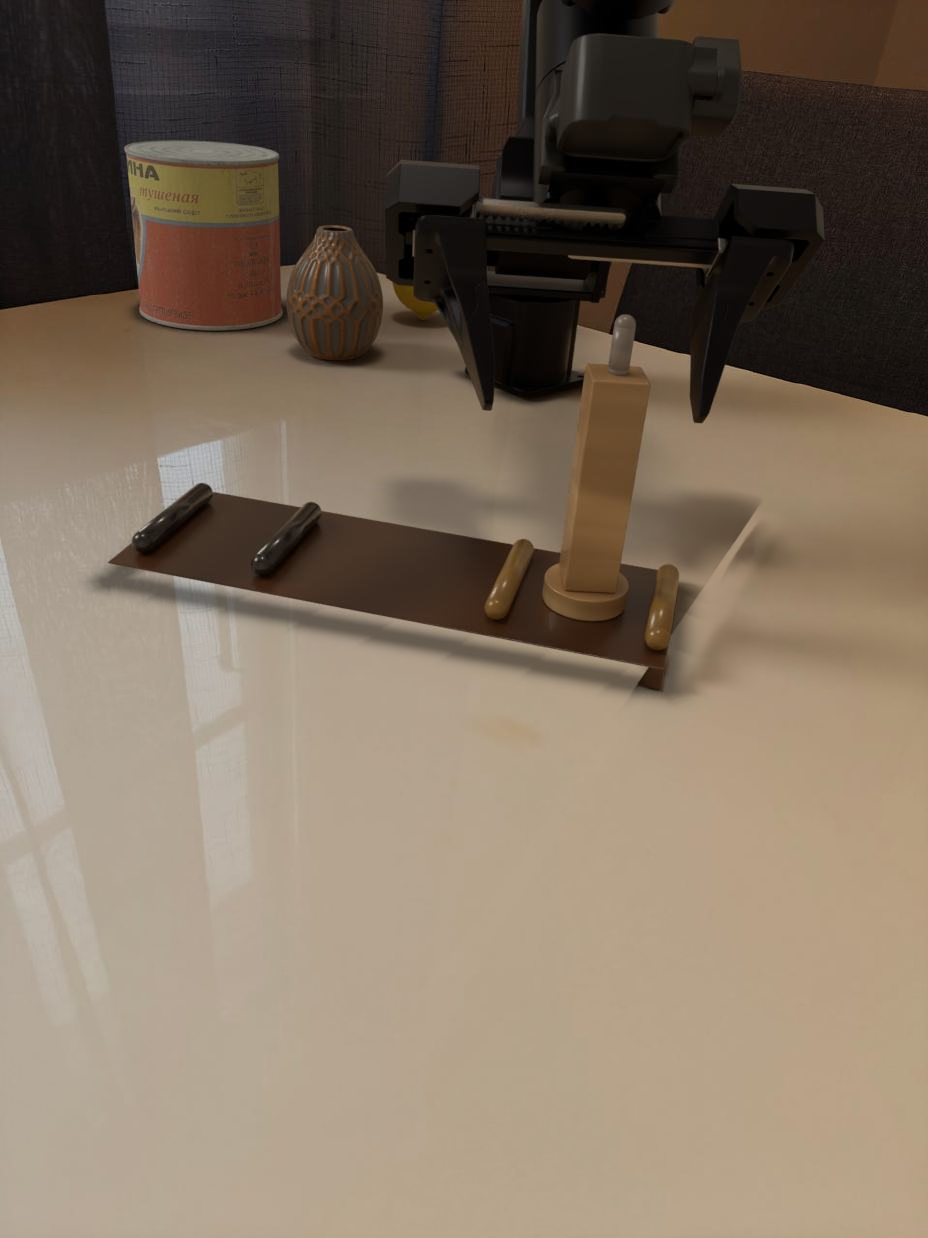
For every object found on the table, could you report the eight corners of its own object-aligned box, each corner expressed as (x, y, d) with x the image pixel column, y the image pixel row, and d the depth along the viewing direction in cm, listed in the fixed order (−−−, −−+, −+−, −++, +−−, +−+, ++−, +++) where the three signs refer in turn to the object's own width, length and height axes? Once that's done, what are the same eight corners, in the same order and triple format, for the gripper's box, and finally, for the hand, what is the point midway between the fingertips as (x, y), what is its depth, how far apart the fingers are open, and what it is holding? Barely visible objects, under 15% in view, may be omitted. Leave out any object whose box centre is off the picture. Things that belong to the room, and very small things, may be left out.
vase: (395, 348, 77) (400, 226, 73) (358, 372, 71) (360, 242, 67) (313, 334, 79) (312, 214, 74) (270, 357, 73) (266, 229, 69)
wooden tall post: (538, 577, 45) (573, 299, 39) (618, 582, 45) (665, 305, 39) (545, 619, 42) (584, 324, 36) (631, 624, 42) (684, 330, 36)
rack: (109, 582, 44) (104, 541, 43) (198, 506, 51) (196, 469, 50) (660, 690, 40) (669, 647, 39) (675, 591, 47) (683, 553, 46)
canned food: (141, 293, 86) (127, 137, 80) (276, 294, 88) (272, 143, 82) (137, 330, 76) (121, 156, 70) (288, 330, 79) (285, 163, 73)
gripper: (394, -71, 39) (371, 296, 35) (872, -31, 40) (898, 331, 36) (395, 133, 49) (377, 430, 46) (770, 161, 50) (782, 453, 47)
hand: (595, 412), depth 43 cm, fingers open, 9 cm apart
